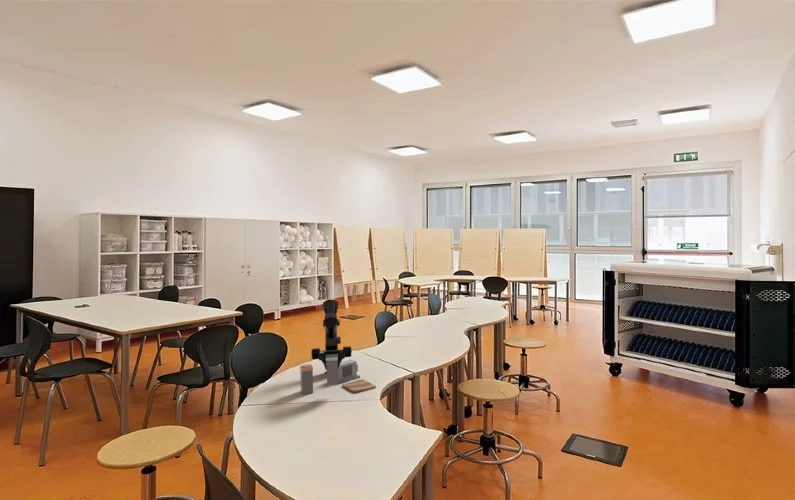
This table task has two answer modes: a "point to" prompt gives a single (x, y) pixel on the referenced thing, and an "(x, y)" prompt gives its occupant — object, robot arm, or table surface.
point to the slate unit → (347, 371)
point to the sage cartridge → (332, 368)
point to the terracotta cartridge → (306, 378)
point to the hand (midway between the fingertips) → (332, 369)
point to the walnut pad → (358, 386)
